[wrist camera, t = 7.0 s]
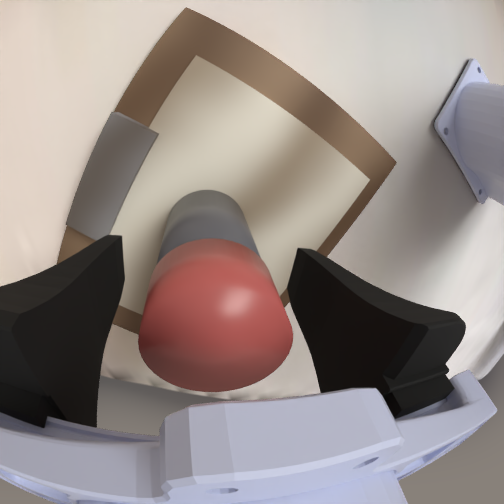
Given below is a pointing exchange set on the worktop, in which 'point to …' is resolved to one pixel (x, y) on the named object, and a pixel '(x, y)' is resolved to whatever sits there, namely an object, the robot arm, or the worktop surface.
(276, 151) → the clipboard
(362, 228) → the worktop surface
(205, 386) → the marker
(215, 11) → the worktop surface
